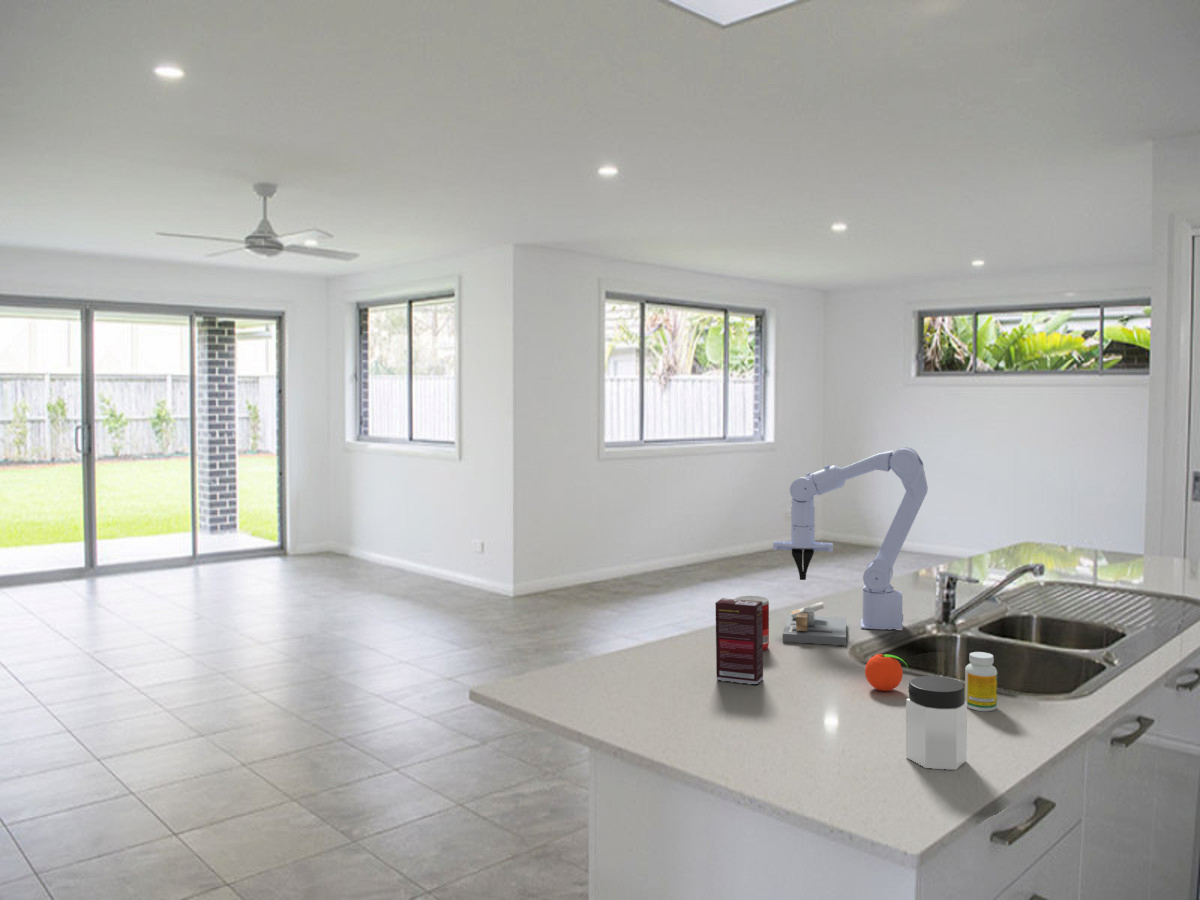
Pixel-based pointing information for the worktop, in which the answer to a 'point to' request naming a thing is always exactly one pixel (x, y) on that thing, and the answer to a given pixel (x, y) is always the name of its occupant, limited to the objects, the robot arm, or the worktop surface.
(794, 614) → the block
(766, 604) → the canned food
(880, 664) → the clementine
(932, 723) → the jar
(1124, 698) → the worktop surface
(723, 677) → the supplement box
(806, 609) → the steel slider
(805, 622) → the oak slider
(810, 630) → the console
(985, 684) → the supplement bottle
